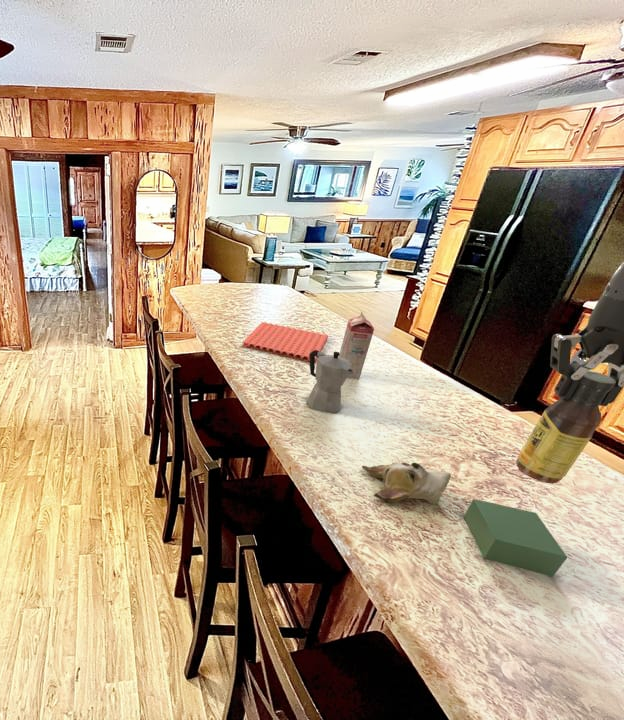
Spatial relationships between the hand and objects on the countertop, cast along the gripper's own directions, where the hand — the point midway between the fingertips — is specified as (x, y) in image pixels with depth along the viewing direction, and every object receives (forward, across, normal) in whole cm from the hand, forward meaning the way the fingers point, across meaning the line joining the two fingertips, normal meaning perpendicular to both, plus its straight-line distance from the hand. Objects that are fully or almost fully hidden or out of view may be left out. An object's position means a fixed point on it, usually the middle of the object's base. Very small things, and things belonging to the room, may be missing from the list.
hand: (580, 400), depth 62 cm
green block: (+31, 0, -3) cm, 31 cm away
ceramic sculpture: (+31, -16, +6) cm, 35 cm away
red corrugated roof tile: (+31, -42, +85) cm, 100 cm away
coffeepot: (+31, -31, +39) cm, 58 cm away
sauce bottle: (+15, 0, 0) cm, 15 cm away
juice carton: (+31, -21, +64) cm, 74 cm away
